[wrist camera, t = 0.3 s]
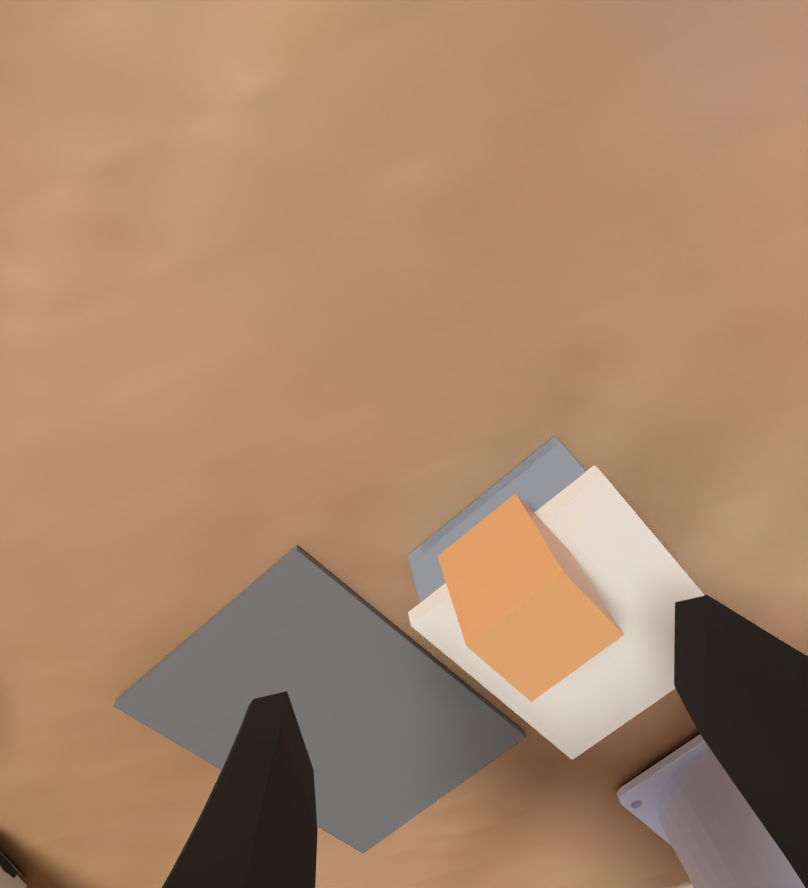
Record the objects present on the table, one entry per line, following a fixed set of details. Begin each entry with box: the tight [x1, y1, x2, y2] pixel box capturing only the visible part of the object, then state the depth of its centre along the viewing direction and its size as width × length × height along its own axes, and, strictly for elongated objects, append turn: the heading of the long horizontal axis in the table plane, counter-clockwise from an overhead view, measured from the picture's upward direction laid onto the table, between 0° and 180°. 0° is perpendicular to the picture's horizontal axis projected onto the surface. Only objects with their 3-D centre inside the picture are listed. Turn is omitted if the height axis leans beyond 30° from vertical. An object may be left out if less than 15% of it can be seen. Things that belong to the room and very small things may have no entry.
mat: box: [114, 545, 526, 853], centre depth 25 cm, size 13×9×1 cm
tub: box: [408, 436, 586, 603], centre depth 22 cm, size 8×6×3 cm
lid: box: [408, 465, 705, 760], centre depth 19 cm, size 10×7×5 cm
